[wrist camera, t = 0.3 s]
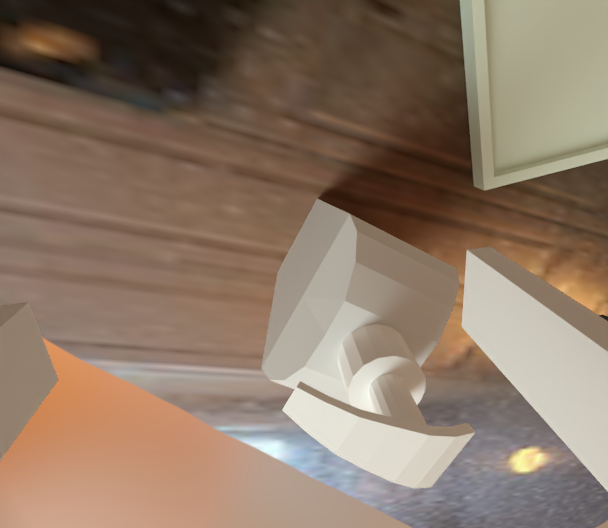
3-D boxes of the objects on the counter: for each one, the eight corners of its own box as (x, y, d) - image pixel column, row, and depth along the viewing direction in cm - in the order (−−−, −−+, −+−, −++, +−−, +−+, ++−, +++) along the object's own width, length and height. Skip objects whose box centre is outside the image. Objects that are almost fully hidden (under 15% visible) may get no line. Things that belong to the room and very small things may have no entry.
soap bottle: (302, 166, 37) (376, 281, 14) (393, 214, 40) (590, 382, 16) (245, 277, 41) (223, 525, 17) (332, 315, 44) (418, 576, 20)
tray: (455, -61, 32) (467, -71, 30) (701, -124, 32) (728, -138, 30) (473, 186, 40) (484, 190, 38) (672, 135, 40) (693, 136, 38)
